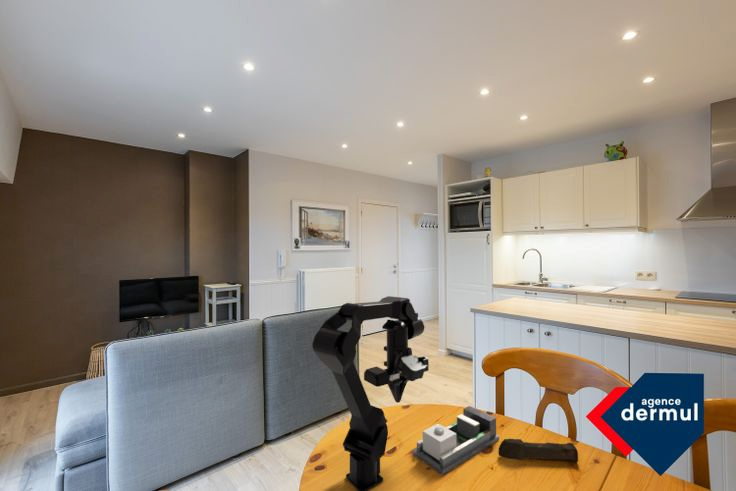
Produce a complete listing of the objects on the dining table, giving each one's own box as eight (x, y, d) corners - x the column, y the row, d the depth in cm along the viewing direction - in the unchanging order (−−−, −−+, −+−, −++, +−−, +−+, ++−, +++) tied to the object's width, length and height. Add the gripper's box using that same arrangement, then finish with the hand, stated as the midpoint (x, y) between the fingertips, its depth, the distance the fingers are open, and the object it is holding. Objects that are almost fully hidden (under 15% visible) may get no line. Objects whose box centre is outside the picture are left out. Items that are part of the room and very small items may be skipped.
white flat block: (475, 441, 88) (475, 425, 88) (457, 431, 93) (456, 416, 93) (479, 438, 89) (479, 423, 89) (461, 429, 94) (461, 414, 94)
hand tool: (571, 455, 84) (570, 437, 85) (579, 465, 80) (579, 446, 81) (495, 451, 86) (495, 433, 87) (500, 460, 82) (500, 442, 83)
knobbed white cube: (440, 461, 79) (440, 439, 80) (422, 449, 84) (422, 428, 84) (456, 452, 83) (456, 431, 83) (438, 441, 88) (438, 421, 88)
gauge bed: (442, 475, 77) (442, 449, 77) (412, 454, 85) (412, 431, 85) (499, 439, 91) (499, 418, 91) (469, 424, 99) (468, 404, 99)
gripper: (390, 358, 75) (390, 426, 75) (443, 344, 87) (444, 403, 86) (362, 347, 84) (362, 407, 84) (414, 335, 96) (414, 389, 95)
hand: (397, 401), depth 87 cm, fingers closed
